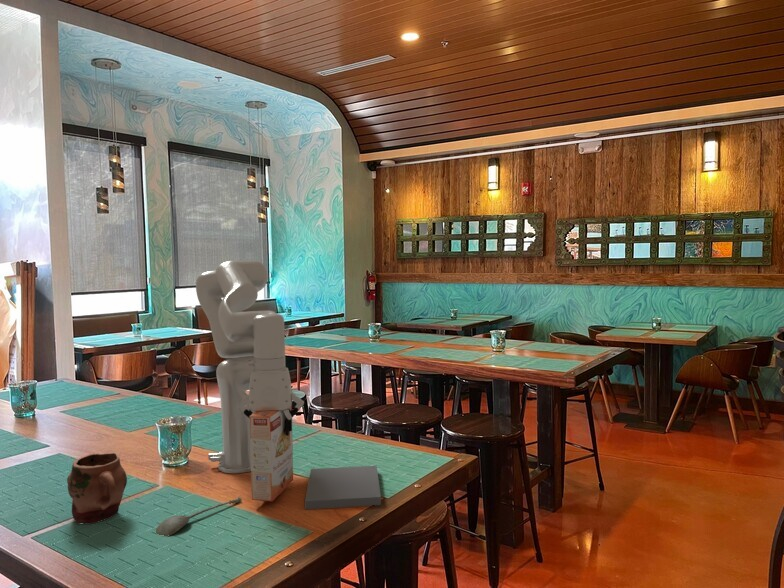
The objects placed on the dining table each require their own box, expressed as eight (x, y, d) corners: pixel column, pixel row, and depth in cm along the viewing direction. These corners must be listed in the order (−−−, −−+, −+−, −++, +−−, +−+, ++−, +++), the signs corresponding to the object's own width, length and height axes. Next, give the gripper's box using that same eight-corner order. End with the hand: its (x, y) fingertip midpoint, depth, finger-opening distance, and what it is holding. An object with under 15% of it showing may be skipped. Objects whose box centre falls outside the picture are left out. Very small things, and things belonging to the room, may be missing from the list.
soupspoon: (149, 535, 130) (164, 545, 126) (148, 521, 130) (163, 530, 126) (232, 499, 147) (248, 507, 143) (232, 486, 147) (248, 494, 143)
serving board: (305, 509, 139) (304, 501, 139) (311, 476, 161) (310, 468, 161) (381, 505, 140) (380, 496, 140) (376, 472, 162) (376, 465, 162)
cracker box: (274, 502, 140) (271, 416, 138) (250, 501, 141) (247, 415, 140) (295, 480, 153) (292, 401, 152) (273, 478, 155) (271, 400, 153)
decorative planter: (146, 519, 136) (143, 460, 136) (92, 539, 127) (89, 475, 126) (105, 499, 149) (102, 445, 148) (54, 516, 139) (50, 458, 139)
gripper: (231, 368, 141) (233, 440, 142) (304, 365, 142) (306, 438, 143) (237, 362, 148) (239, 431, 149) (306, 360, 149) (308, 428, 151)
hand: (272, 434), depth 146 cm, fingers closed on cracker box, 7 cm apart
